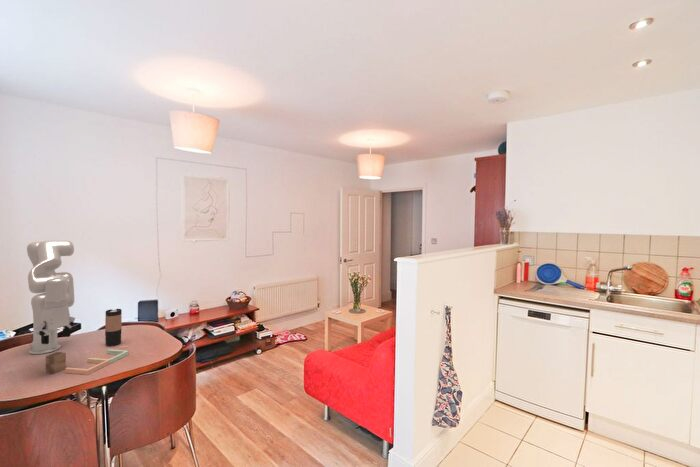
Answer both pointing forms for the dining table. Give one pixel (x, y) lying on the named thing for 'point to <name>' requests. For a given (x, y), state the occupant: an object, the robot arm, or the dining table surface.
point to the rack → (100, 362)
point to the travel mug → (113, 327)
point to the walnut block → (55, 362)
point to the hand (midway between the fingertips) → (56, 340)
